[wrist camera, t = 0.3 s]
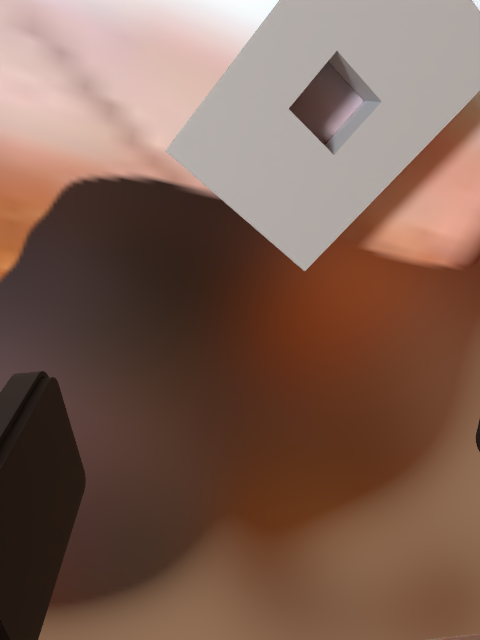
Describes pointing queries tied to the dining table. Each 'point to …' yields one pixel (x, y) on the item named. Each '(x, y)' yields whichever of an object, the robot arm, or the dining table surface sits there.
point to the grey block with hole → (354, 135)
